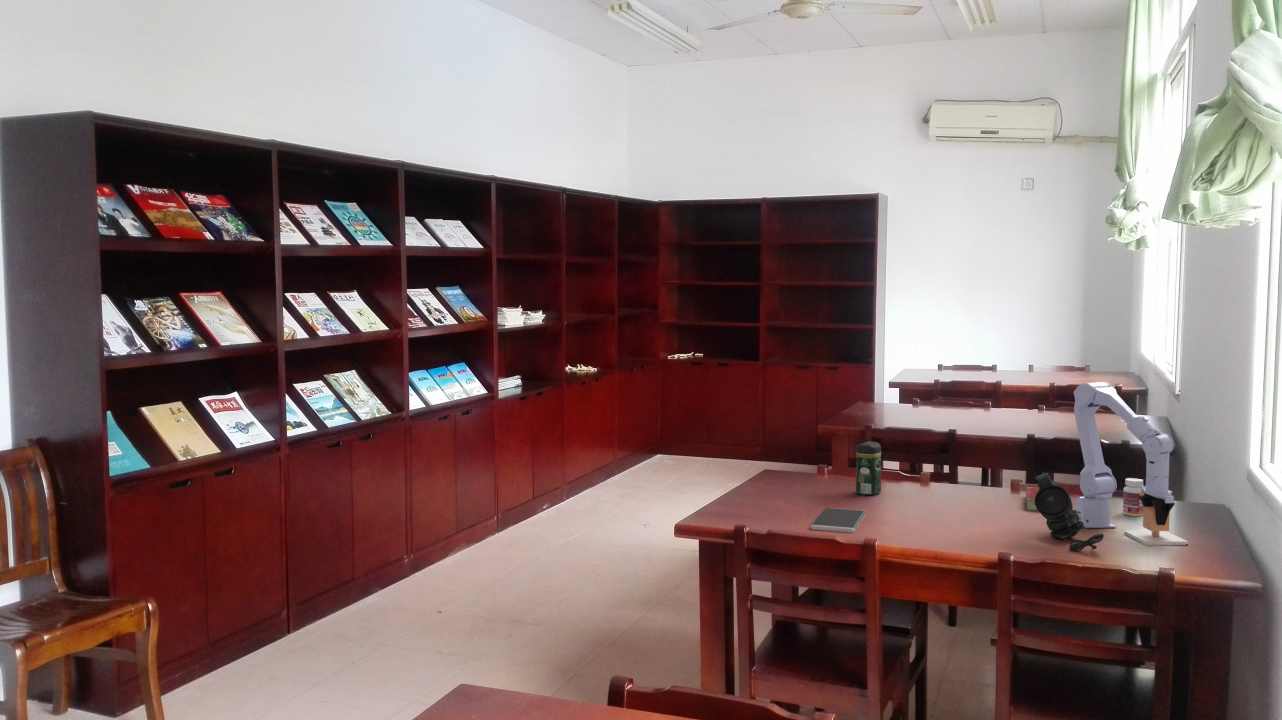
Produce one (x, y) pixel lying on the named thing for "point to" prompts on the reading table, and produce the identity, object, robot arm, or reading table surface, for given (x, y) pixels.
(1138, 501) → the pill bottle
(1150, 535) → the post plate
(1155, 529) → the tan wooden cube
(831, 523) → the smartphone
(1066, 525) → the headset
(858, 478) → the coffee jar
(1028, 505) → the hardcover book
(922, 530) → the reading table surface
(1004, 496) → the reading table surface
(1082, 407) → the robot arm
